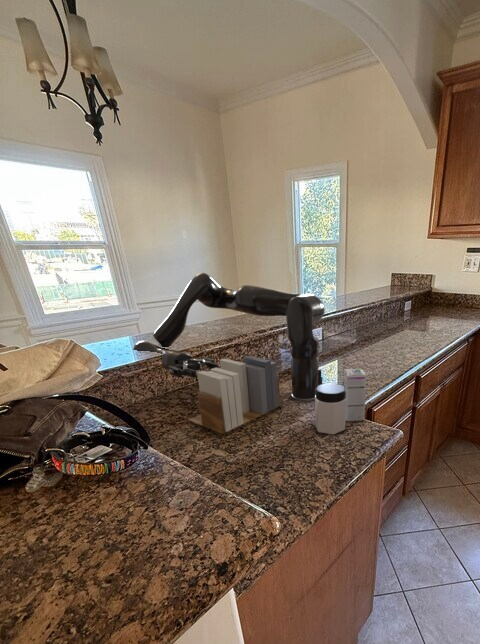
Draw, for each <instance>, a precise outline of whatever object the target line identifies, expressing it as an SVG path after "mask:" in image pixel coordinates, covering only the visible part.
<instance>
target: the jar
mask: <svg viewBox="0 0 480 644" xmlns="http://www.w3.org/2000/svg"><path fill="white" fill-rule="evenodd" d="M345 390H346V389H345V387H344V385H341V384H338V383H330V382H329V383H322V385H319V386H317V387H316V395H315V400H314V426H315V428H316V430H317V432H318V433H321V434H328V435H336V434H338V433H341V432H343V431H345V430H346V419H345V418H346V399H345V395H346V391H345Z"/></svg>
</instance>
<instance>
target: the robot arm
mask: <svg viewBox="0 0 480 644" xmlns="http://www.w3.org/2000/svg"><path fill="white" fill-rule="evenodd" d="M197 301H198V302H200V303H201V304H202V305H203V306H206V307H208V308H211V309H225V310H232V311H235V312H238V313H239V312H240V313H244V314H247V315H252V316H258V317H285V319H286V331H287V338H288V341H289V343H290V370H291V371H290V372H291V381H290V384H291V396H292V397H293V398H294V399H297V400H305V401H306V400H314V401H315V395H316V387H317V386H319V385H322V384H323V376H322V369H321V368H320V340H319V338H318V337H317V336H315V335H314V332H313V325H315V324H317V323H318V322H320V321H321V320H322V319H323V317H324V315H325V312H326V311H325V310H326V309H325V305H324V303H323V301H322V300H321V299H320V297H318V296H317V295H314V294H311V293H308V294H307V293H305V294H304V293H302V294H301V293H287V292H282V291H280V290H276V289H271V288H266V287H262V286H256V285H249V284H245V285H241V286H239V287H237V288H236V289H231V288H227V287H223V286H221V284H219V283H218V282H217V281H216V280H215V279H213V277H212V276H210V275H209V274H208V273H205V272H199V273H197V274H196V275H194V276H193V278H192V279H191V280H190V281H189V283H187V285H186V287H185V289H184V290H183V291H182V293H181V295H180V297H179V298H178V300H177V302H176V303H175V305H174V307H173V308H172V309H171V311H170V313H169V314H168V316H167V317H166V318H165V319H164V320H163V321H162V323H160V324H159V326H158V327H156V329H155V331H154V332H153V334H152V337H153V339H154V340H155V341H156V342H157V343H158V345H160V346H162V347H169V346H171V347H172V345H173V344H174V343H175V341H177V339H179V337H180V335H182V334H183V332H184V330H185V328H186V325H187V320H188V317H189V316H188V315H189V312H190V310H191V307H192V306H193V305H194V303H196V302H197ZM158 345H156V344H154V343H152V342H149V341H146V340H140V341H138V342H136V343H135V344H134V345H133V348H132V351H133V350H137V351H150V352H157V353H161V354H163V357H162V364H163V367H164V368H165V369H164V370H166V371H168V372H169V374H170V375H172V376H174V377H177V378H182V377H183V376H184V377H191V378H194V379H195V378H198V375H197V371H205V370H211V369H213V368H219V363H215V361H216V360H215V359H213V358H209V357H205V356H202V357H201V358H200V359H197V358H193V356H192V355H190V354H189V353H187V352H184V351H183V352H182V351H179V350H176V349H165V348H161V347H159V346H158Z"/></svg>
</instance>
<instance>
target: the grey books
mask: <svg viewBox="0 0 480 644" xmlns="http://www.w3.org/2000/svg"><path fill="white" fill-rule="evenodd" d="M242 358H243V359H242V361H243V363H245V364H246V373H247V384H248V396H249V407H250V410H252V411H254V412H257V413H260V414H262V415H264V413H265V414H267V413H269V412H270V410H271V411H273V410H275V409H277V408H279V407H280V406H279V402H278V382H277V375H278V364H277V363H278V362H276V361H272V360H270V359H267V358H266V359H265V358H262V357H257V356H253V355H246V356H243V357H242ZM278 406H279V407H278ZM276 407H277V408H276ZM274 408H275V409H274ZM272 409H273V410H272ZM268 411H269V412H268ZM266 412H267V413H266Z"/></svg>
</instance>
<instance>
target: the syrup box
mask: <svg viewBox="0 0 480 644" xmlns="http://www.w3.org/2000/svg"><path fill="white" fill-rule="evenodd" d="M343 374H344V375H343V376H344V378H343V387H345V389H346V390H345V391H346V395H345V399H346V418H345V422H362V421H365V413H366V395H367V394H366V393H367V392H366V391H367V389H366V388H367V374H366V372H365V370H364V369H363V368H346V369H344V373H343Z"/></svg>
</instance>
